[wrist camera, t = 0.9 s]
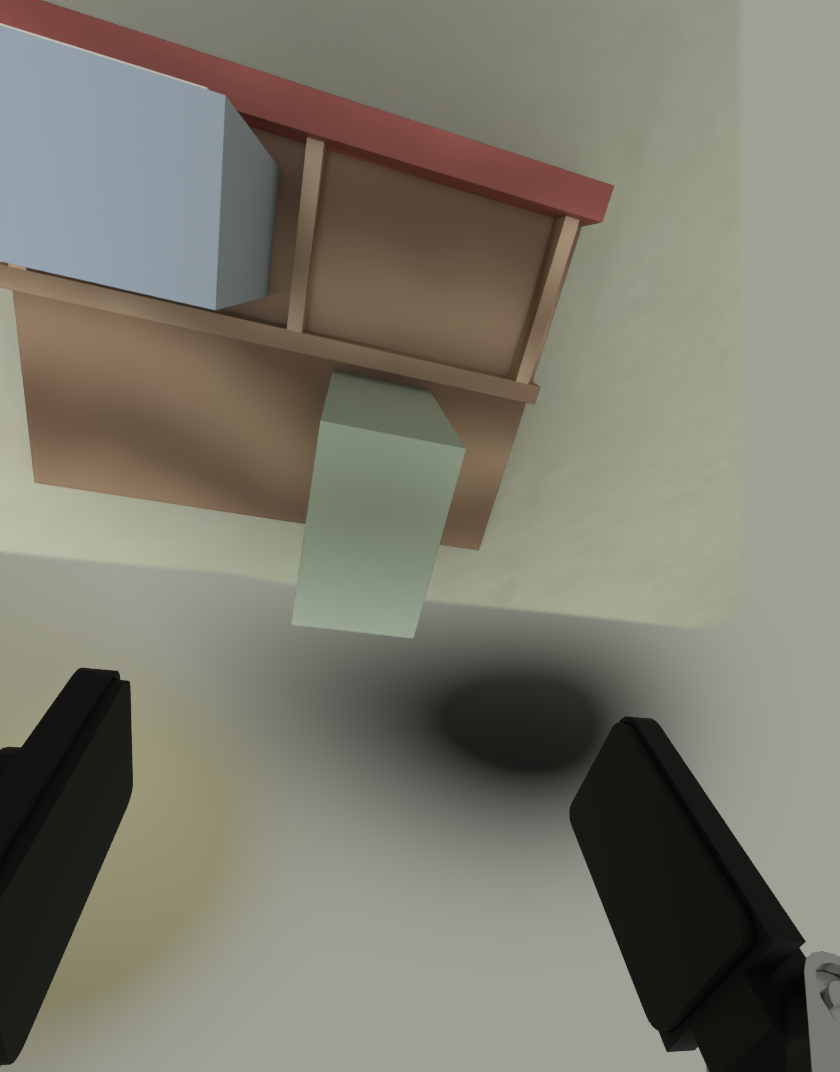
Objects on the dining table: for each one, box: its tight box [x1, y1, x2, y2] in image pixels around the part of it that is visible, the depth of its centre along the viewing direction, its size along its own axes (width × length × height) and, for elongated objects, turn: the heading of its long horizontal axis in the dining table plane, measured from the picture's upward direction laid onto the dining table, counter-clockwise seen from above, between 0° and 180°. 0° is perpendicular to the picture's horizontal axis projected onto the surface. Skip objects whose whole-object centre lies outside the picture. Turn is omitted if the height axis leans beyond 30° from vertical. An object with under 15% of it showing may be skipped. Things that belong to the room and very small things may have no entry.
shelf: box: [0, 0, 614, 550], centre depth 22 cm, size 17×22×3 cm
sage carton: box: [291, 369, 466, 638], centre depth 21 cm, size 5×8×9 cm, turn 167°
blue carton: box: [0, 23, 280, 310], centre depth 15 cm, size 5×8×9 cm, turn 77°
